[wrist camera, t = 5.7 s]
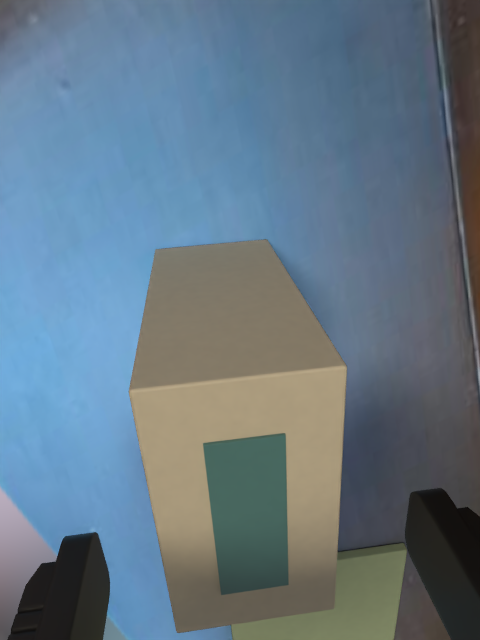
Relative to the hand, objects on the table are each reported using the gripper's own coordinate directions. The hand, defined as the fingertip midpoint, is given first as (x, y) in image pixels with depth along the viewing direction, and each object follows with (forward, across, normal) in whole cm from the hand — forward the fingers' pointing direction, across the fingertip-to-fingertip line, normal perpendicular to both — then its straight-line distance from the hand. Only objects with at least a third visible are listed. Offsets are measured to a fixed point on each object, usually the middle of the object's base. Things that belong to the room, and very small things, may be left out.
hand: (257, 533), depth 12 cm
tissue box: (+12, 0, 0) cm, 12 cm away
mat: (+12, -5, +23) cm, 26 cm away
